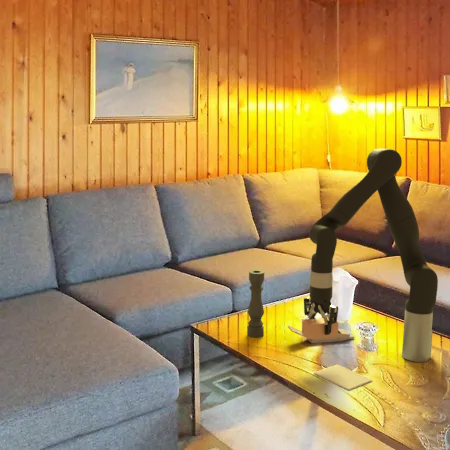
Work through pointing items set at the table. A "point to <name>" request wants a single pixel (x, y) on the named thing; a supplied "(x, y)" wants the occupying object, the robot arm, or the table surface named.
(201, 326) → the table surface
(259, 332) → the candle holder
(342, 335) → the mobile phone
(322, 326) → the card box
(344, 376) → the beige flat plate
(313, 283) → the robot arm
